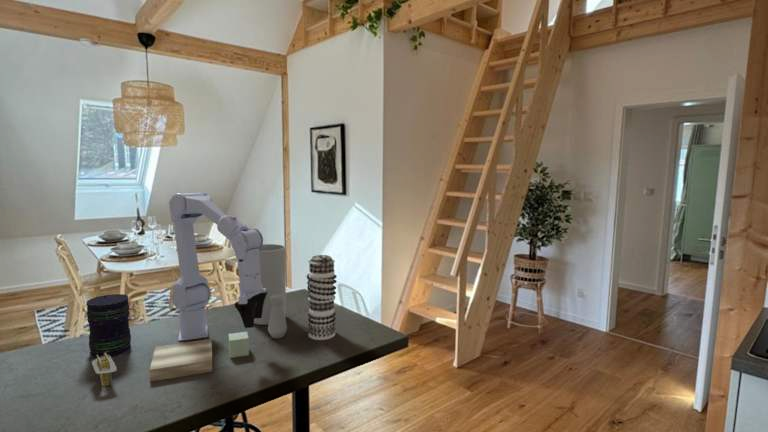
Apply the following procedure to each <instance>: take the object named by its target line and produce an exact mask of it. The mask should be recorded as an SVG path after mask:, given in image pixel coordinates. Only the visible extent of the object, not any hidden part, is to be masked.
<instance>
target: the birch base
mask: <svg viewBox="0 0 768 432" xmlns="http://www.w3.org/2000/svg"><path fill="white" fill-rule="evenodd" d="M212 347H213V346H212V338H210V339H204V340H203V339H202V340H196V341H189V342H182V343H180V342H179V343H175V344H166V345H161V346H160V345H158V346H155V348H154V352H153V355H152V358H151V359H152V360H151V363H150V368H149V382H157V381H162V380H169V379H174V378H179V377H182V378H183V377H186V376H192V375H199V374H206V373H211V372H214V371H213V349H212Z"/></svg>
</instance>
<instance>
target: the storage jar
mask: <svg viewBox="0 0 768 432" xmlns="http://www.w3.org/2000/svg"><path fill="white" fill-rule="evenodd" d="M129 302H130V301H129V296H128V295H127V294H123V293H119V294H118V293H116V294H115V293H114V294H113V293H112V294H106V295H104V294H103V295H99V296H96V297H92V298H90V299H88V300H87V301H86V306H87V307H86V316H87V323H88V330H89V336H88V346H89V356H90V357H91V358H92V359H97V355H98V357H101V356H103V355H104V353H106V354H109V355H110V356H111V358H112V359H113V358H116V357H118V356H122V355H124V354H126V353H128V352H129V351H130V350H131V349H132V344H131V339H132V334H131V329H130V324H129V323H130V322H129V319H130V318H129V317H130V303H129Z"/></svg>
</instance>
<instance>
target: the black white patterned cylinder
mask: <svg viewBox="0 0 768 432" xmlns="http://www.w3.org/2000/svg"><path fill="white" fill-rule="evenodd" d="M335 262H336V260H334V259H333V258H332V256H330V255H327V254H317V255H316V254H315V255H314V256H312V257H311V259H310V260H308V263H309V265H308V266H309V270H308V273H307V274H306V279H307V282H306V285H307V287H306V289H307V291H308V292H307V296H308V298H307V300H308V301H309V307H308V314H307V317H308V319H307V320H308V324H307V327H308V329H307V331H308V335H307V336H308V338H309V339H312V340H316V341H325V340H330V339H332V338H334V337H335V336H336V322H335V321H336V315H337V314H336V312H335V305H334V304H335V300H336V294H337V292H336V289H337V286H335V284H337V282H338V281H337V280H336V279H337V277H338V276H337V275H336V274H335Z"/></svg>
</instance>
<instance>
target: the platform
mask: <svg viewBox="0 0 768 432" xmlns="http://www.w3.org/2000/svg"><path fill="white" fill-rule="evenodd" d="M91 366H92V367H93V369H94V371H95V374H97V375H99V378H100V383H101V387H106V386H109V385H110V387H111V388H113V378H112V373H115V372H116V371H117V370H118V368H117V366H116V364H115V361H114V360H113V357H112V358H111V356H110V355H109V354H106V353H104V355H103V356H101V357H98V355H97V359H96V358H94V359H93V360H92V361H91Z"/></svg>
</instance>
